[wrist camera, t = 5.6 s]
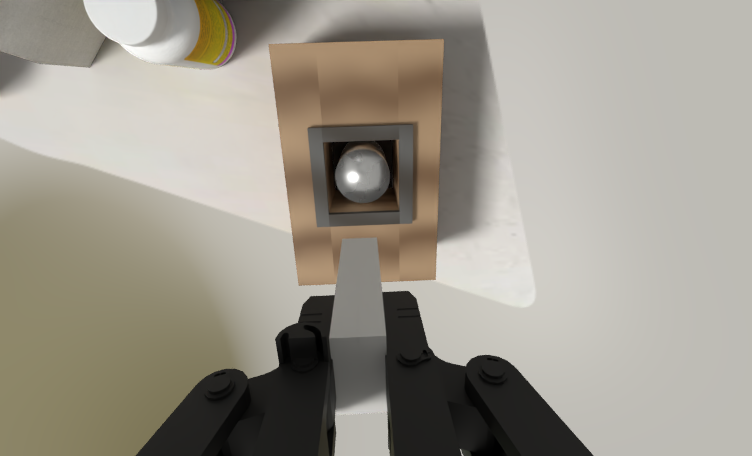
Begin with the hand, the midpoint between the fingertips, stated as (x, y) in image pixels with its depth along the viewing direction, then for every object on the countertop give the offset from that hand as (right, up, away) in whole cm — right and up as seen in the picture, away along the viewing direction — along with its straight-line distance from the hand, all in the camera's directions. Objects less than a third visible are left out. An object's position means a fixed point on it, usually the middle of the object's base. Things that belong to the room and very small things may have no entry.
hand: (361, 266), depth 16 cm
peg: (-1, +9, +24) cm, 26 cm away
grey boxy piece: (-27, +21, +19) cm, 39 cm away
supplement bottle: (-16, +21, +19) cm, 33 cm away
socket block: (-1, +9, +24) cm, 26 cm away
